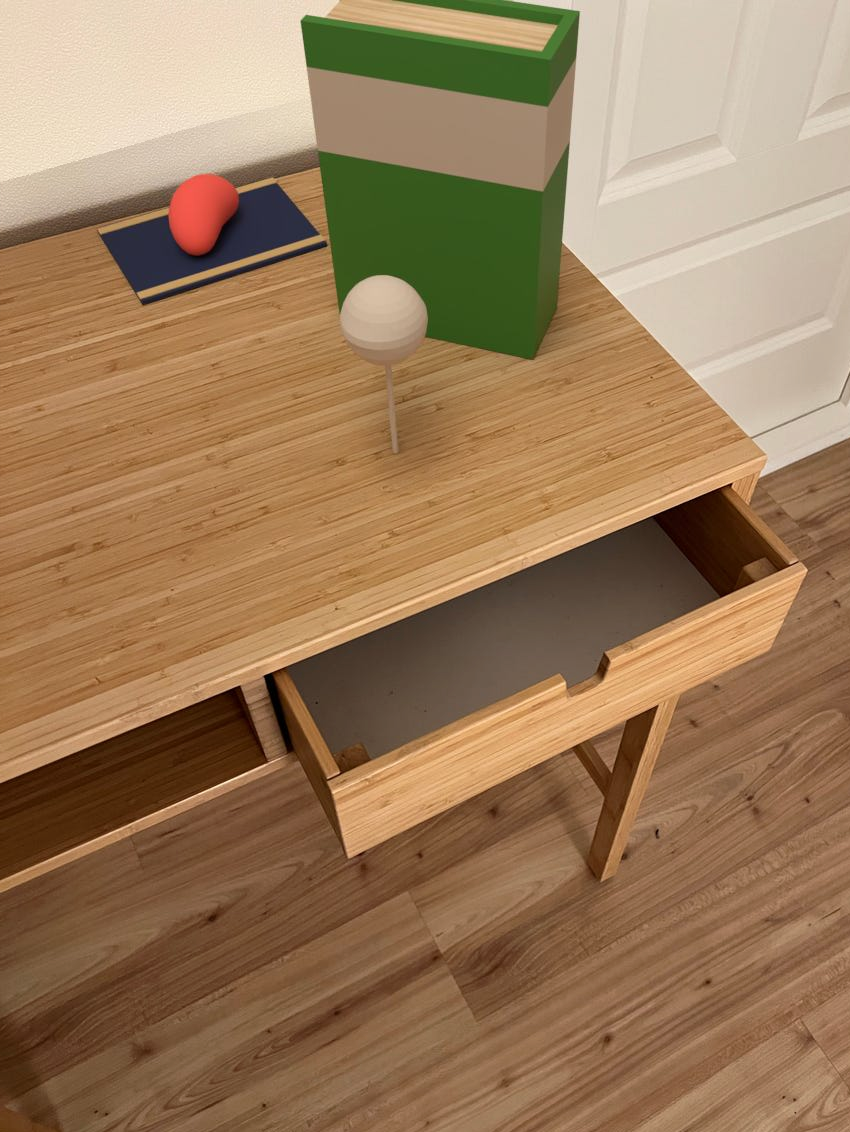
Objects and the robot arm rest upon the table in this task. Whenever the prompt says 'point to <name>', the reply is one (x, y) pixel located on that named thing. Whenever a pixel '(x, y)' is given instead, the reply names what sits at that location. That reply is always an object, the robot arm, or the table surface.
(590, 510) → the table surface
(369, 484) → the table surface
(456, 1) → the hardback book
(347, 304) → the lollipop
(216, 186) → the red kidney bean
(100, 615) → the table surface
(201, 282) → the cloth
